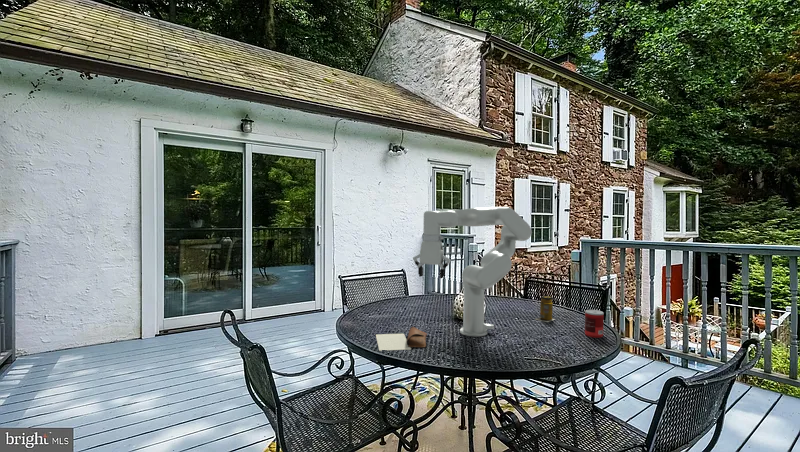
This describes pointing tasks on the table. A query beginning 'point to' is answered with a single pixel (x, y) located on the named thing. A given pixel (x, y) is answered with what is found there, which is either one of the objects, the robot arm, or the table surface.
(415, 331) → the sunglasses case
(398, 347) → the mat
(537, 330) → the table surface
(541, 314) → the condiment
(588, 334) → the canned food
